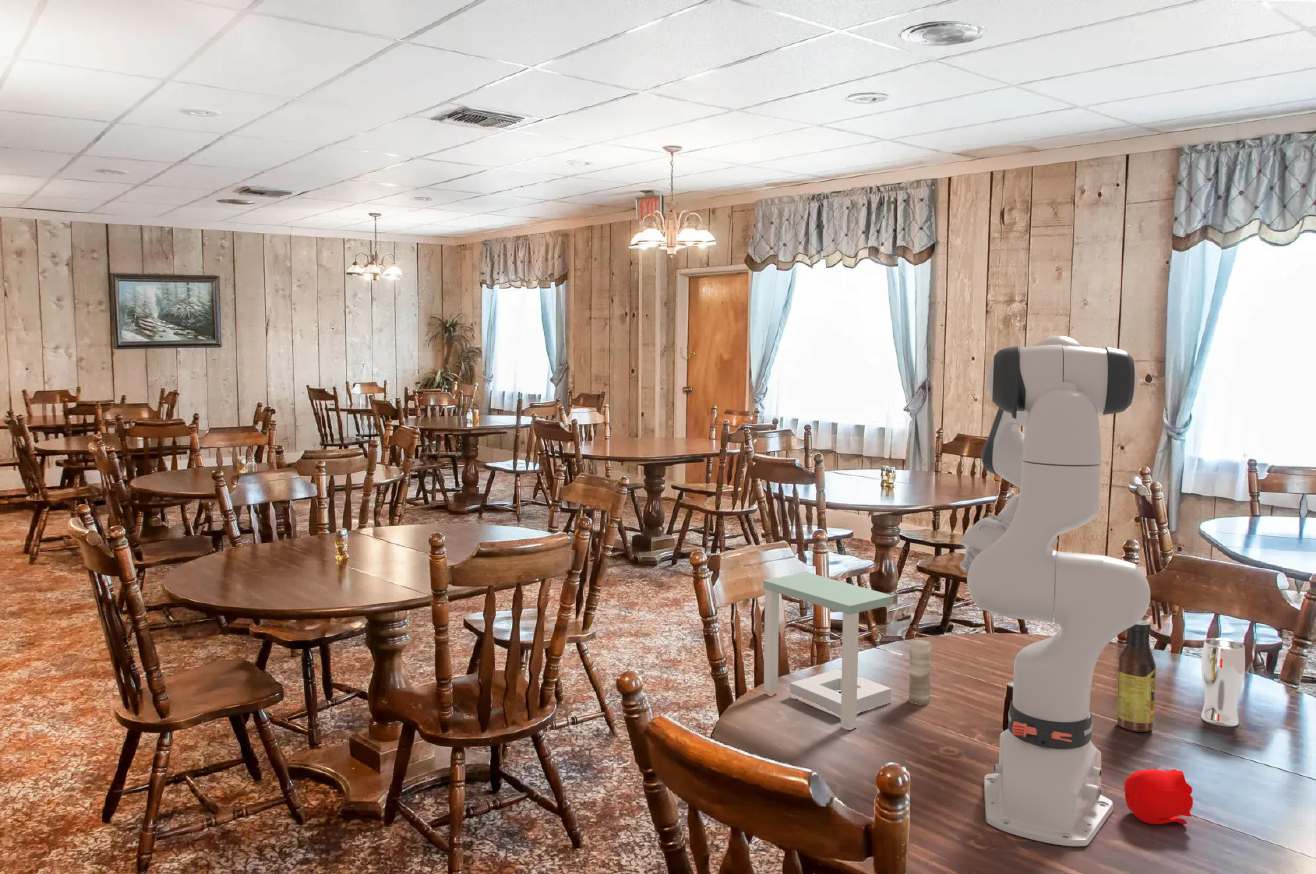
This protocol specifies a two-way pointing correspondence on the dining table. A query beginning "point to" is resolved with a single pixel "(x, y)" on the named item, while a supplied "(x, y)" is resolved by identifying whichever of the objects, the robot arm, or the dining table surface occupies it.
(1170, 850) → the dining table surface
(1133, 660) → the sauce bottle
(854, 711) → the small side table
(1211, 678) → the beer glass
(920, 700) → the birch peg
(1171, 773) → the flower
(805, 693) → the socket plate
